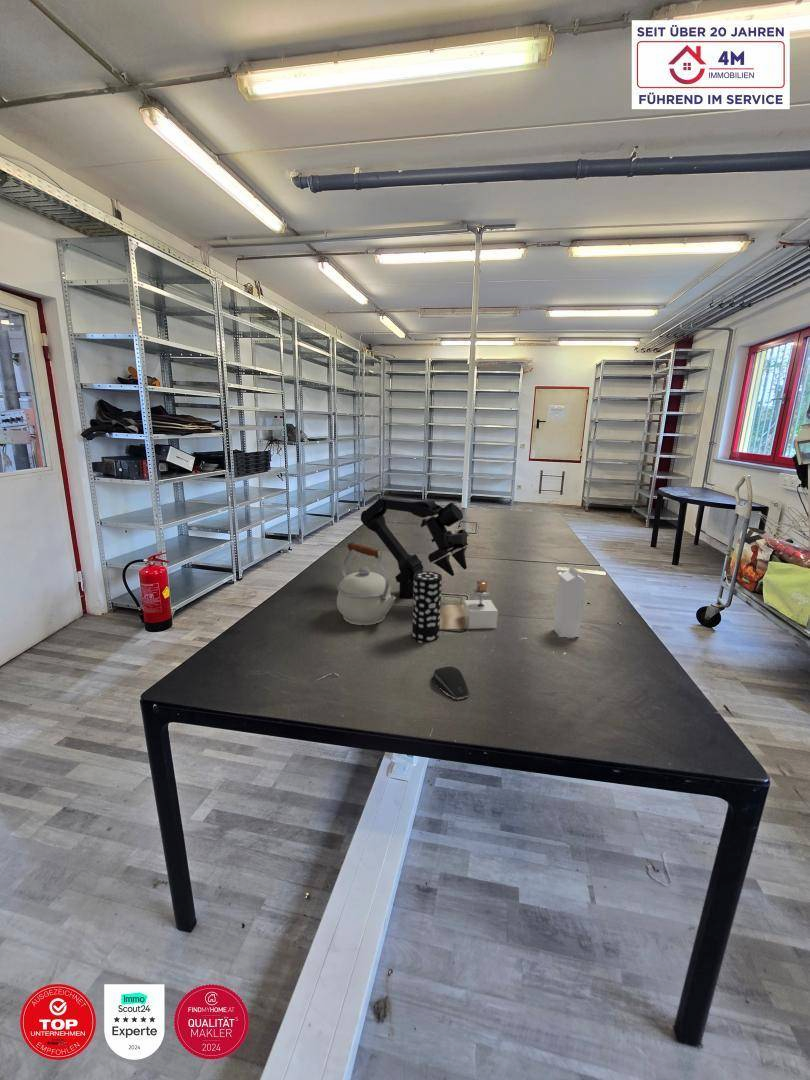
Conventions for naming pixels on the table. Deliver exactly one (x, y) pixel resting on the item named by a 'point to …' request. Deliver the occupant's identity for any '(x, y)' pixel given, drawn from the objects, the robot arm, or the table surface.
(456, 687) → the computer mouse
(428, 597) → the white-spotted black cylinder
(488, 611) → the white square block
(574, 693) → the table surface
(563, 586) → the milk
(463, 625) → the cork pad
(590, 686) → the table surface
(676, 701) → the table surface
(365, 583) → the kettle
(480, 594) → the plunger
